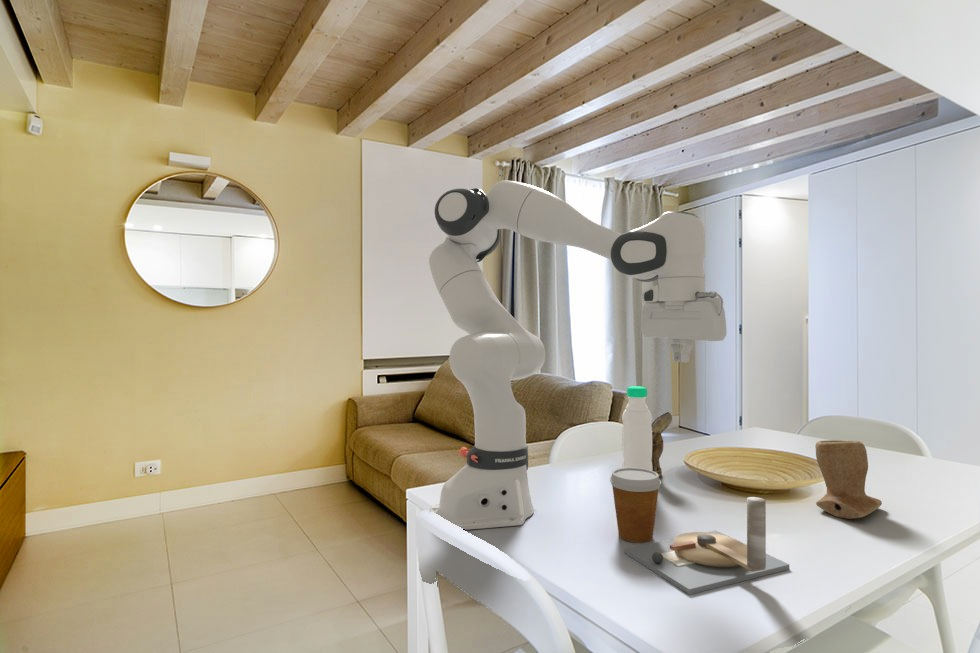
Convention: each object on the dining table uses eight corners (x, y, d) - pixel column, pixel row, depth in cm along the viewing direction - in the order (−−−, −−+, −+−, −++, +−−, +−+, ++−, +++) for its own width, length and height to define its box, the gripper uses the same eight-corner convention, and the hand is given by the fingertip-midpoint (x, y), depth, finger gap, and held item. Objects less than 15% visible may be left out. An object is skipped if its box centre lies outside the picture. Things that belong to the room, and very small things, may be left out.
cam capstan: (653, 544, 98) (653, 476, 98) (713, 533, 103) (713, 469, 102) (724, 588, 82) (724, 508, 82) (793, 574, 86) (792, 497, 86)
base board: (689, 594, 83) (689, 577, 83) (624, 553, 98) (624, 538, 98) (789, 569, 91) (789, 553, 91) (715, 534, 106) (715, 521, 106)
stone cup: (827, 495, 128) (827, 431, 128) (888, 509, 119) (888, 439, 119) (799, 510, 119) (799, 440, 119) (863, 526, 109) (863, 450, 109)
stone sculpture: (655, 486, 137) (654, 413, 136) (619, 472, 149) (618, 406, 148) (681, 481, 141) (681, 410, 140) (644, 468, 153) (644, 403, 152)
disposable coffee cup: (603, 527, 110) (603, 467, 110) (650, 526, 110) (650, 466, 110) (619, 547, 100) (618, 481, 100) (669, 545, 101) (669, 480, 101)
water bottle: (649, 486, 137) (649, 385, 136) (655, 495, 130) (654, 388, 129) (620, 485, 137) (619, 385, 137) (624, 494, 130) (624, 388, 130)
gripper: (735, 291, 102) (734, 365, 103) (659, 294, 121) (658, 357, 121) (709, 290, 100) (708, 367, 100) (636, 294, 118) (635, 358, 119)
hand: (680, 361), depth 111 cm, fingers closed
